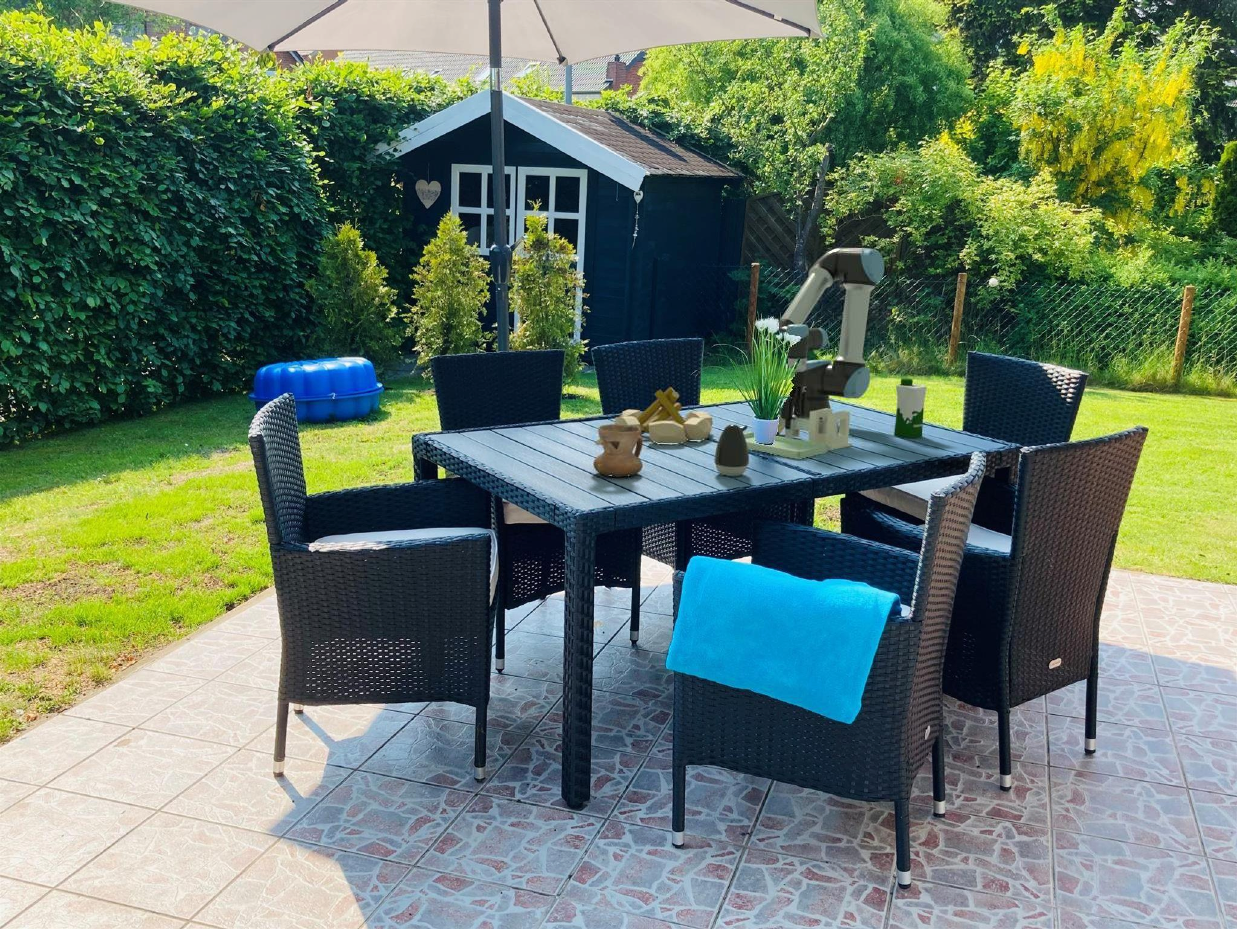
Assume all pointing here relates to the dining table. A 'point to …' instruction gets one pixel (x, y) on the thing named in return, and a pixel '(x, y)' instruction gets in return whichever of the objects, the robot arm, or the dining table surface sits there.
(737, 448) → the pump dispenser
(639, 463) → the ceramic jug
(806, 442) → the tray
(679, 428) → the campfire
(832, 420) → the double loop bracket
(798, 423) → the gold disc post
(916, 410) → the milk carton
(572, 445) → the dining table surface
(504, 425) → the dining table surface
